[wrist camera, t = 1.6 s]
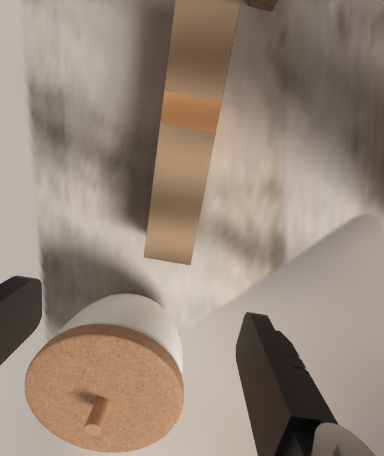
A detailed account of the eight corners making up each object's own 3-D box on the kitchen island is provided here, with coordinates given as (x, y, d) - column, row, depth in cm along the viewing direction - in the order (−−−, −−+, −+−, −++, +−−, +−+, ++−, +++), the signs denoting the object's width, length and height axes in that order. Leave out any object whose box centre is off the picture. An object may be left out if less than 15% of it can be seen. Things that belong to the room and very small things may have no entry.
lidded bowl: (123, 375, 28) (79, 504, 17) (61, 304, 25) (-40, 406, 14) (206, 335, 26) (214, 452, 15) (148, 254, 23) (109, 327, 12)
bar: (181, 39, 18) (176, -10, 13) (227, 49, 18) (240, 3, 13) (154, 238, 22) (143, 257, 18) (191, 244, 22) (190, 265, 18)
